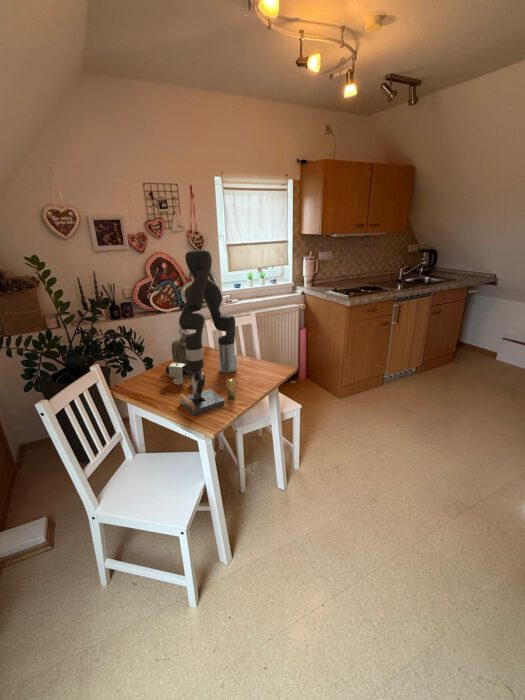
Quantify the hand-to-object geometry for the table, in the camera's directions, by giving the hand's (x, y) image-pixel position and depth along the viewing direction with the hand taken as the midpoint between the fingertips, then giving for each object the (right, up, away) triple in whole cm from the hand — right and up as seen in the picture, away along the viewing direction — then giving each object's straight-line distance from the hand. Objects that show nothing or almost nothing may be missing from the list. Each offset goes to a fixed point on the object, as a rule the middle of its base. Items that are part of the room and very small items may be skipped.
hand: (197, 391), depth 149 cm
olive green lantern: (-15, +8, +43) cm, 47 cm away
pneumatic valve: (-15, +1, +25) cm, 29 cm away
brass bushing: (+15, -5, +9) cm, 18 cm away
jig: (+2, -7, +4) cm, 8 cm away
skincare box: (-4, 0, +23) cm, 23 cm away
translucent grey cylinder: (0, -3, +1) cm, 3 cm away
